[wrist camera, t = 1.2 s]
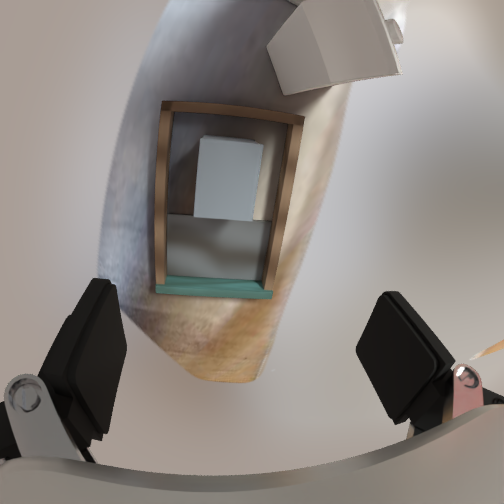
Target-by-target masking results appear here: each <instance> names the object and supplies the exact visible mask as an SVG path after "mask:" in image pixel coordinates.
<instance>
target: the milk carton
mask: <svg viewBox="0 0 504 504" xmlns="http://www.w3.org/2000/svg"><path fill="white" fill-rule="evenodd" d="M402 43H403V36H402V33H401V30H400V28H399V26H398V24H397V22H396V21H395V20H394V19H388V20H385V19H384V16H383V14H382V12H381V9H380V7H379V5H378V3H377V1H376V0H306V1H303V2H301V4H300V5H299V6H298V7H297V8H296V9H295V11H294V12H293V13H292V14H291V15H290V17H289V18H288V19H287V20H286V22H285V23H284V24H283V25H282V27H281V28H280V29H279V30H278V32H277V33H276V34H275V35H274V37H273V38H272V39H271V41H270V42H269V43H268V45H267V46H266V47H267V50H268V53H269V56H270V58H271V61H272V64H273V67H274V70H275V72H276V75H277V78H278V81H279V84H280V87H281V90H282V93H283V95H284V96H287V95H291V94H295V93H299V92H304V91H308V90H313V89H318V88H323V87H328V86H334V85H339V84H344V83H349V82H354V81H360V80H366V79H371V78H379V77H386V76H394V75H401V74H402V70H401V66H400V63H399V59H398V56H397V53H396V49H395V46H394V44H402Z"/></svg>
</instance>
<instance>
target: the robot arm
mask: <svg viewBox="0 0 504 504" xmlns="http://www.w3.org/2000/svg"><path fill="white" fill-rule="evenodd" d="M288 1H290V2H291V3H293V4H295V5H297V6H299V5H300V4H301V2H303V1H306V0H288ZM126 351H127V344H126V339H125V334H124V329H123V324H122V319H121V313H120V308H119V302H118V295H117V289H116V285H115V284H111V281H110V280H109V279H100V278H93V279H92V280H91V282H90V284H89V285H88V287H87V289H86V290H85V292H84V293H83V295H82V297H81V299H80V300H79V302H78V304H77V305H76V307H75V309H74V311H73V312H72V314H71V315H69V316H68V317H67V318H66V320H65V322H64V324H63V325H62V327H61V329H60V331H59V333H58V335H57V336H56V338H55V340H54V342H53V344H52V346H51V348H50V350H49V352H48V354H47V356H46V359H45V361H44V363H43V365H42V367H41V369H40V371H39V374H38V376H35V375H33V374H22V375H18V376H17V377H15V378H13V379H12V380H11V381H10V382H9V383H8V385H7V387H6V389H5V393H4V401H3V402H1V403H0V504H504V397H503V396H501V395H499V394H496V393H494V392H492V391H490V390H487V389H485V388H483V387H482V382H481V378H480V376H479V374H478V373H477V372H476V370H475V369H473V368H472V367H471V366H468V365H466V364H458V365H457V366H456V367H455V368H454V369H453V371H452V370H451V369H450V368H451V367H452V365H453V364H454V363H455V359H454V358H453V357H452V355H451V354H450V353H449V351H448V350H447V349H446V348H445V346H444V345H443V344H442V342H441V341H440V340H439V339H438V337H437V336H436V335H435V334H434V332H433V331H432V330H431V329H430V328H429V327H428V325H427V324H426V323H425V322H424V320H423V319H422V318H421V317H420V316H419V315H418V313H417V312H416V311H415V310H414V309H413V307H412V306H411V305H410V304H409V303H408V302H407V301H406V299H405V298H404V297H403V296H402V295H401V294H400V293H399V292H397V291H386V292H384V293H383V294H382V295H381V296H380V297H379V298H378V300H377V303H376V305H375V307H374V309H373V312H372V314H371V316H370V319H369V321H368V323H367V325H366V327H365V329H364V331H363V334H362V336H361V338H360V340H359V342H358V344H357V346H356V353H357V356H358V358H359V360H360V362H361V363H362V365H363V367H364V369H365V371H366V373H367V375H368V377H369V379H370V381H371V383H372V385H373V387H374V388H375V391H376V392H377V394H378V396H379V398H380V400H381V402H382V404H383V406H384V408H385V410H386V412H387V414H388V416H389V417H390V418H391V419H392V420H393V422H394V424H395V425H397V424H400V423H403V422H405V421H406V420H407V419H408V418H410V420H411V422H410V425H409V429H408V434H407V438H406V440H404V441H401V442H398V443H396V444H393V445H390V446H387V447H384V448H382V449H379V450H375V451H372V452H369V453H365V454H362V455H359V456H355V457H351V458H348V459H344V460H340V461H336V462H331V463H327V464H322V465H317V466H312V467H306V468H301V469H294V470H288V471H280V472H272V473H263V474H250V475H231V476H230V475H229V476H197V475H178V474H163V473H153V472H145V471H137V470H130V469H124V468H118V467H113V466H107V465H101V464H98V462H97V460H96V459H95V457H94V456H93V454H92V452H91V451H90V449H89V447H90V445H91V440H92V439H95V440H99V441H102V438H103V433H104V434H107V433H108V431H109V427H110V422H111V416H112V411H113V406H114V402H115V397H116V392H117V388H118V384H119V380H120V376H121V372H122V368H123V364H124V360H125V356H126Z"/></svg>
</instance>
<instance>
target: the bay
mask: <svg viewBox="0 0 504 504" xmlns="http://www.w3.org/2000/svg"><path fill="white" fill-rule="evenodd" d="M174 112H190V113H206V114H218V115H229V116H238V117H246V118H254V119H261V120H268V121H274V122H280V123H286V124H288V128H287V135H286V141H285V147H284V153H283V159H282V165H281V171H280V177H279V183H278V189H277V195H276V201H275V207H274V212H273V218H272V222H271V221H262V220H252V221H240V220H227V219H214V218H200V217H194V215H184V214H167V200H168V179H169V163H170V150H171V138H172V128H173V118H174ZM304 119H305V117H304V116H299V115H294V114H289V113H283V112H278V111H272V110H265V109H259V108H251V107H244V106H235V105H226V104H215V103H202V102H184V101H162V104H161V113H160V122H159V133H158V145H157V160H156V179H155V272H156V293H163V294H177V295H192V296H209V297H228V298H253V299H272V295H273V291H272V289H273V285H274V280H275V275H276V270H277V265H278V261H279V256H280V251H281V246H282V241H283V236H284V231H285V225H286V220H287V215H288V210H289V204H290V199H291V194H292V188H293V183H294V177H295V172H296V166H297V160H298V155H299V149H300V143H301V137H302V131H303V125H304ZM271 223H272V224H271ZM270 229H271V230H270ZM269 234H270V235H269ZM268 240H269V241H268ZM267 246H268V247H267ZM266 251H267V252H266ZM265 257H266V258H265ZM264 263H265V264H264ZM263 268H264V269H263ZM262 274H263V275H262ZM175 275H176V276H175ZM190 276H191V277H190ZM206 277H207V278H206ZM223 278H224V279H223ZM242 279H243V280H242ZM261 279H262V280H261Z"/></svg>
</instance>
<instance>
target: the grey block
mask: <svg viewBox="0 0 504 504" xmlns="http://www.w3.org/2000/svg"><path fill="white" fill-rule="evenodd" d="M263 146H264V145H263V144H258V143H257V142H255V140H251V139H243V138H234V137H224V136H212V135H203V138H200V147H199V157H198V168H197V179H196V191H195V204H194V217H200V218H214V219H227V220H240V221H252V220H253V213H254V206H255V199H256V193H257V186H258V179H259V172H260V166H261V159H262V152H263Z"/></svg>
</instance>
